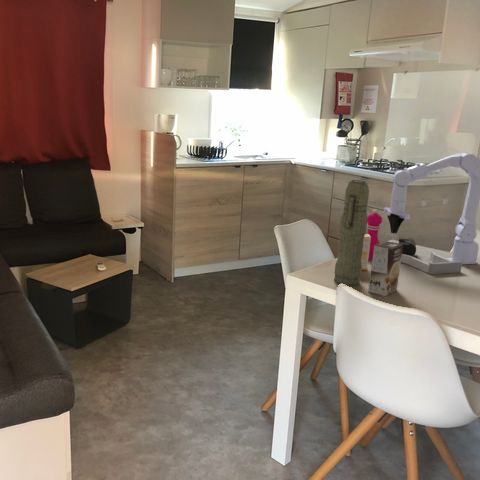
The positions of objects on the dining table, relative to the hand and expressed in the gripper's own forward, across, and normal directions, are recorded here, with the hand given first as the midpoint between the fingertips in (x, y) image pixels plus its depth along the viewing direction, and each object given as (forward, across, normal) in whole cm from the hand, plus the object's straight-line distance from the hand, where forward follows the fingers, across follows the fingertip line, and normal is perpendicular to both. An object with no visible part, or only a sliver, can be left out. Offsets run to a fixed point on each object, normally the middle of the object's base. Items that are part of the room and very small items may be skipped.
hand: (393, 233), depth 222 cm
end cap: (+10, +2, +6) cm, 12 cm away
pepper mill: (+10, +2, -12) cm, 15 cm away
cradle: (+9, +17, +6) cm, 20 cm away
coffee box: (+10, +37, -31) cm, 49 cm away
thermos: (+10, +26, -38) cm, 47 cm away
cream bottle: (+10, +13, -26) cm, 31 cm away
